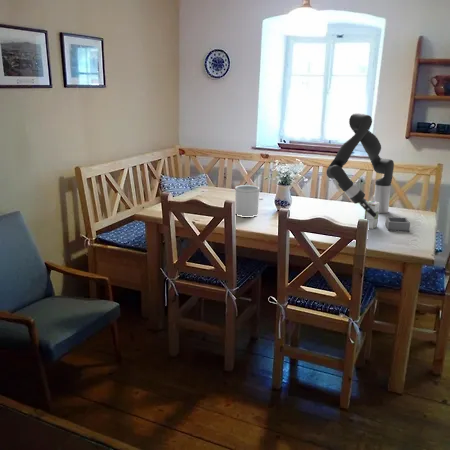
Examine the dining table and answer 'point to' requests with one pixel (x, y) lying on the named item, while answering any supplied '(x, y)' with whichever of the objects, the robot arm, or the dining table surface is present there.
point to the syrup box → (368, 216)
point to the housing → (397, 224)
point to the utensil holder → (247, 200)
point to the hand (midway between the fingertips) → (374, 214)
